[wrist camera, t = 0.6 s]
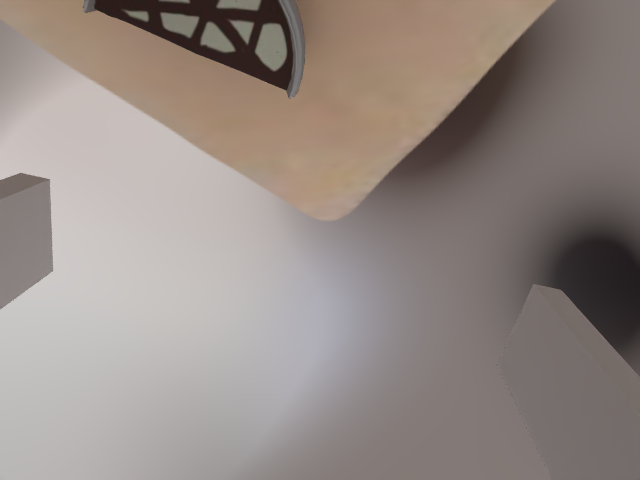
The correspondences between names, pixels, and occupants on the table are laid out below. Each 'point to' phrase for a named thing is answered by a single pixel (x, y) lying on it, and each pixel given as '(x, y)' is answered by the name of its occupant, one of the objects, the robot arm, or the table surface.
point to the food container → (225, 32)
